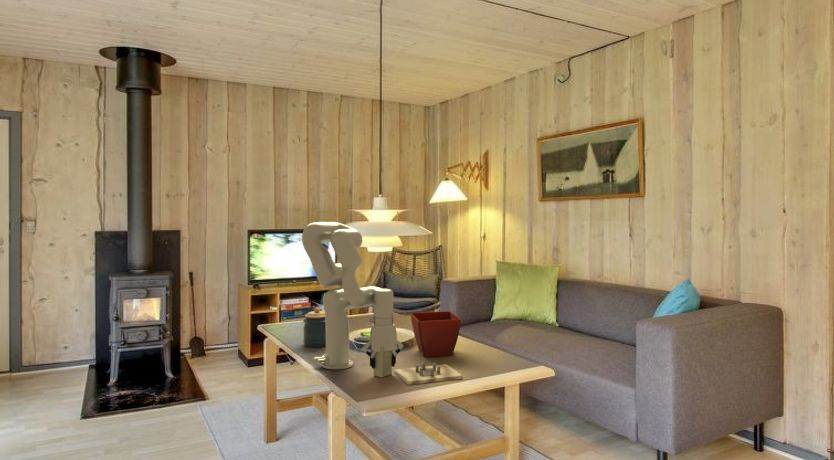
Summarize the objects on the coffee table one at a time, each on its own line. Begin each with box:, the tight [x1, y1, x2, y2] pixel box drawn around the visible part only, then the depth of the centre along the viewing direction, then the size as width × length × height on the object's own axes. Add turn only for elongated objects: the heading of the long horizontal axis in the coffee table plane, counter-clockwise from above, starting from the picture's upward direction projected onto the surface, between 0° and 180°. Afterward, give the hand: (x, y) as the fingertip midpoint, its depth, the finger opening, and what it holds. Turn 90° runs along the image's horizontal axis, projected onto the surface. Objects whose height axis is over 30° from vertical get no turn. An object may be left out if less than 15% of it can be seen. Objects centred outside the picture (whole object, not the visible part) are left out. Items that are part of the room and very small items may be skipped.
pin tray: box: [394, 361, 464, 386], centre depth 206 cm, size 22×16×4 cm
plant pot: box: [410, 310, 462, 358], centre depth 239 cm, size 19×19×17 cm
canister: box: [302, 307, 326, 349], centre depth 254 cm, size 13×13×18 cm
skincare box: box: [372, 346, 393, 378], centre depth 206 cm, size 6×4×12 cm
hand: (382, 366), depth 206 cm, fingers closed on skincare box, 7 cm apart
